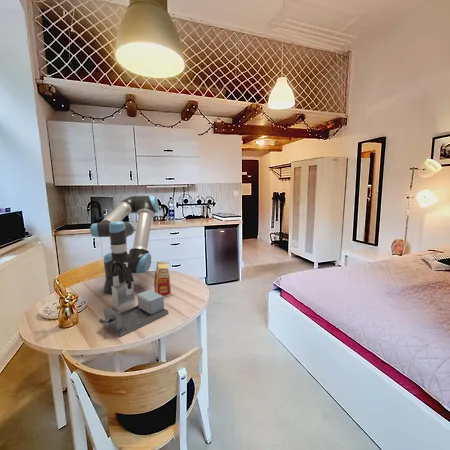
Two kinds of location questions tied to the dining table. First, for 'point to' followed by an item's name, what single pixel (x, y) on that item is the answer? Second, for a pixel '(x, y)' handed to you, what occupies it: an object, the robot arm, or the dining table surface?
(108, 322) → the vise body
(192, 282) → the dining table surface
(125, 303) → the steel block
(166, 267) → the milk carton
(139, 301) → the block
